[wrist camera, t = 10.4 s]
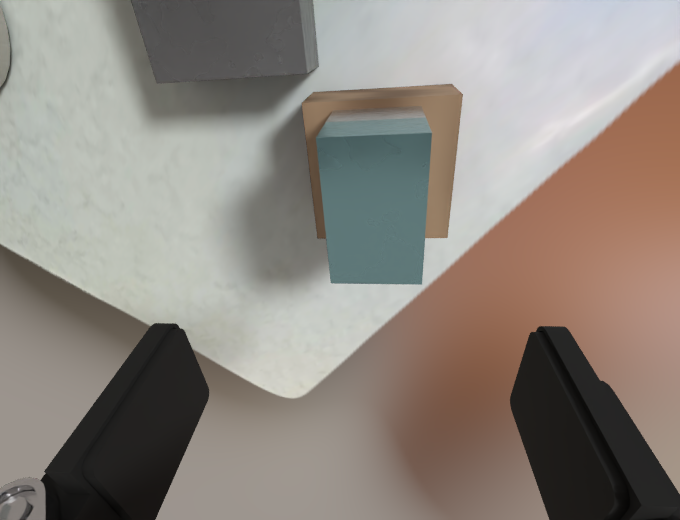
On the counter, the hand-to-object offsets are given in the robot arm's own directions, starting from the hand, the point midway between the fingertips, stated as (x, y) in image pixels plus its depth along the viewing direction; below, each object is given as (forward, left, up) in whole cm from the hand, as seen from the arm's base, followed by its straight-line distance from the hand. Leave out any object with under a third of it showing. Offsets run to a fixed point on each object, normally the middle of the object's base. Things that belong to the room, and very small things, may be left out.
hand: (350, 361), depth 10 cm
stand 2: (+1, 0, -19) cm, 19 cm away
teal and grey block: (0, 0, -15) cm, 15 cm away
